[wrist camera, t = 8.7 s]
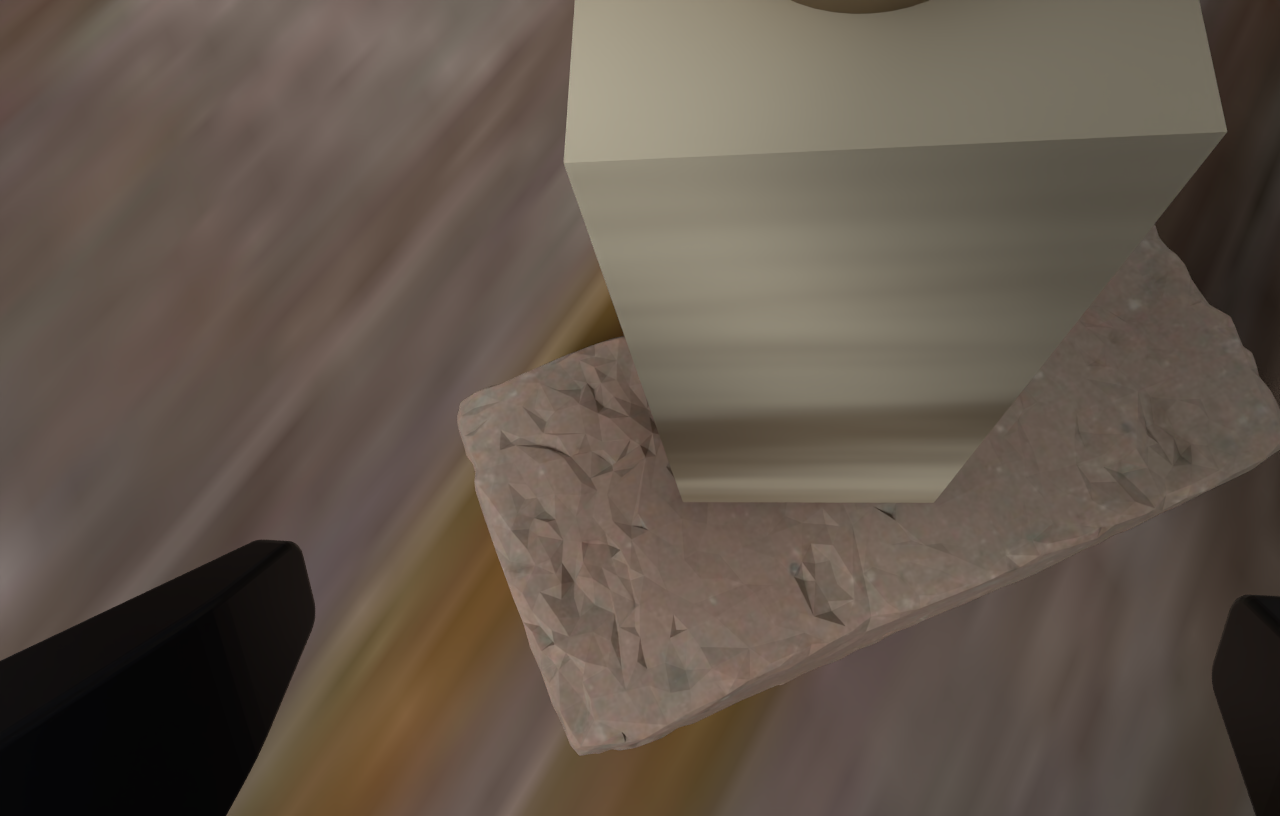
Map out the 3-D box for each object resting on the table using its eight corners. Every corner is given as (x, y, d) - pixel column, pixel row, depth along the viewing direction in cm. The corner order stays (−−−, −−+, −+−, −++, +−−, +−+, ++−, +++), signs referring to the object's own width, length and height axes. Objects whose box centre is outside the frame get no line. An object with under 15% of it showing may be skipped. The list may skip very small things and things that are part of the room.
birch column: (934, 503, 18) (1286, 57, 6) (683, 502, 19) (541, 100, 7) (916, 277, 20) (1164, -432, 8) (686, 283, 20) (578, -360, 8)
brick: (1048, 214, 25) (1109, 106, 20) (1234, 487, 22) (1353, 430, 17) (492, 458, 25) (431, 403, 20) (605, 764, 22) (562, 778, 17)
